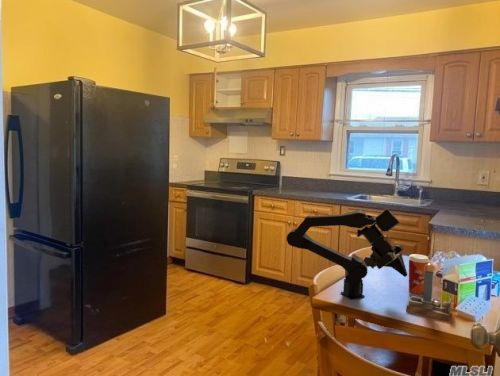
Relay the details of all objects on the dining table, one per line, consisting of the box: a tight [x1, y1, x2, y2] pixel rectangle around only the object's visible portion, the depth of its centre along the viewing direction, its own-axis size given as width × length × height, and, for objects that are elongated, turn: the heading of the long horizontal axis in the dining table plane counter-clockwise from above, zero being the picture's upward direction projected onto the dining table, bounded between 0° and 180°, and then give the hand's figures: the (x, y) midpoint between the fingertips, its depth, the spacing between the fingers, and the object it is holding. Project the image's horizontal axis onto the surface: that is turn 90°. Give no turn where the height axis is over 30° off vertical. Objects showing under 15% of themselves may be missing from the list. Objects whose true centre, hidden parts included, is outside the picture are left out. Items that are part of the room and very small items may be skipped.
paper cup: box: [408, 253, 430, 295], centre depth 149 cm, size 8×8×14 cm
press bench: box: [405, 295, 453, 322], centre depth 130 cm, size 13×8×6 cm, turn 58°
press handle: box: [421, 263, 442, 308], centre depth 129 cm, size 6×3×14 cm, turn 58°
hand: (406, 275), depth 134 cm, fingers closed
